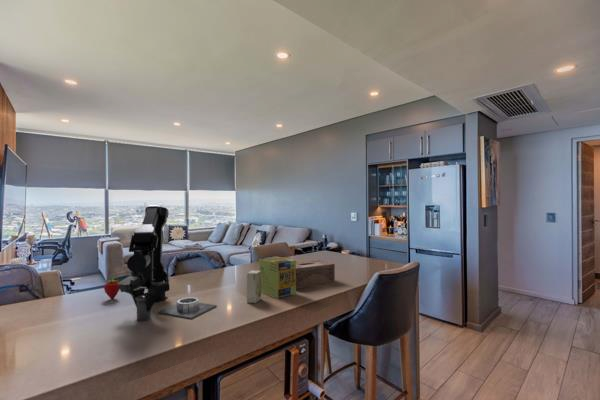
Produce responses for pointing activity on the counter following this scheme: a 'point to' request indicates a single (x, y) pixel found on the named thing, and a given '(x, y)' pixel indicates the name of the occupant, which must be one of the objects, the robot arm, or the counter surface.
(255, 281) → the skincare box
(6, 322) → the counter surface
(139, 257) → the robot arm
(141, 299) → the plug
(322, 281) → the tissue box cover
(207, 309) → the barrel stand
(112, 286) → the strawberry
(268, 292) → the protein box
